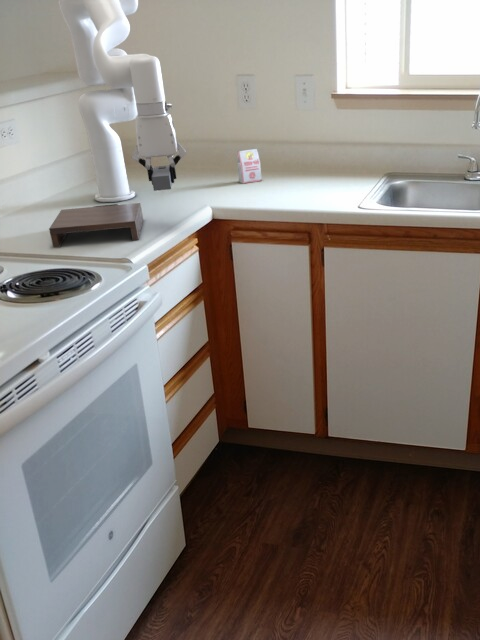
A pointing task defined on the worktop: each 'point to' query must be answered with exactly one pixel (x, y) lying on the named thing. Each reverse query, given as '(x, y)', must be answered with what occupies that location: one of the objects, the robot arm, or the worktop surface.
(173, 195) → the worktop surface
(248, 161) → the white paper food bag
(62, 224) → the shelf
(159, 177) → the grey long block
